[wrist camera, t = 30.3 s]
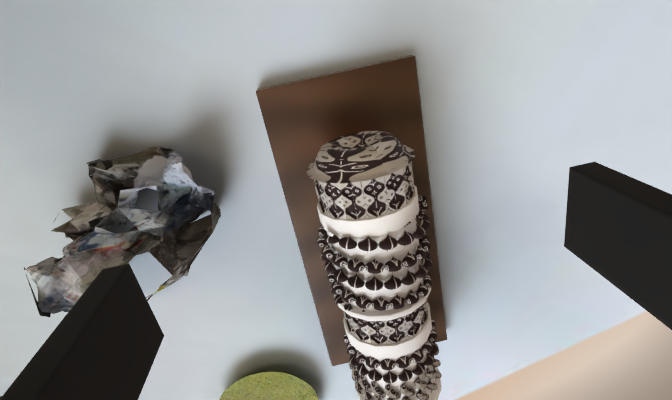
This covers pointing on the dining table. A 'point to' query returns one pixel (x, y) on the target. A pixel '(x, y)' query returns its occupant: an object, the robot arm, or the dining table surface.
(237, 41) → the dining table surface
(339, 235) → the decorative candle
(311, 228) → the walnut board
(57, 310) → the foil
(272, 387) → the mat
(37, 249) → the dining table surface
